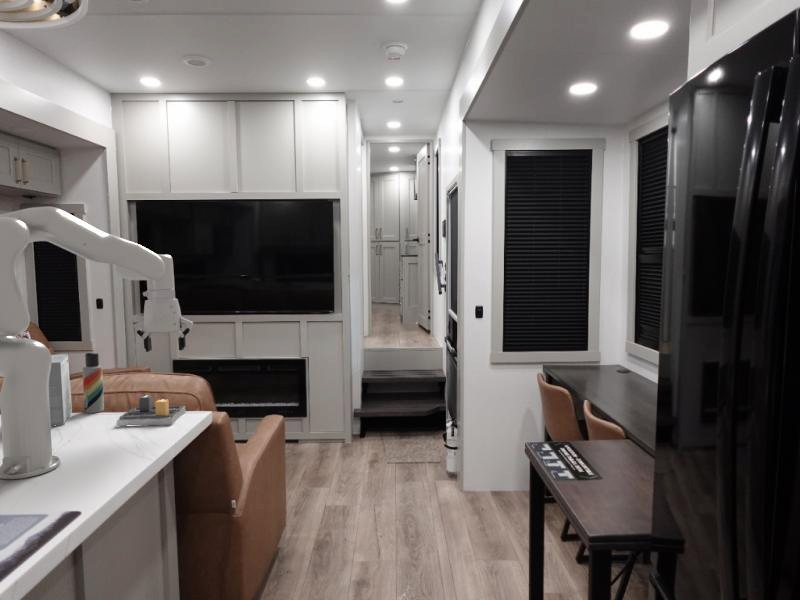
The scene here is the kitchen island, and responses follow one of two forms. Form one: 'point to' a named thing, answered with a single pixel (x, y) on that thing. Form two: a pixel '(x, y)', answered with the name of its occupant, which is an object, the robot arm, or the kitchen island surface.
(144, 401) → the fader
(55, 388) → the hard drive box
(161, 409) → the fader
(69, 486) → the kitchen island surface
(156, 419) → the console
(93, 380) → the lotion bottle
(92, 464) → the kitchen island surface
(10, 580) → the kitchen island surface
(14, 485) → the kitchen island surface
